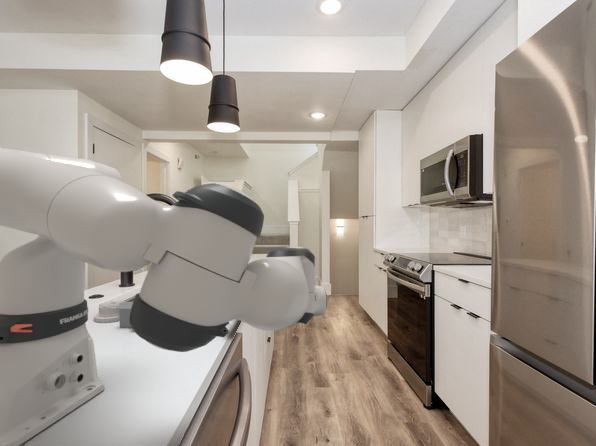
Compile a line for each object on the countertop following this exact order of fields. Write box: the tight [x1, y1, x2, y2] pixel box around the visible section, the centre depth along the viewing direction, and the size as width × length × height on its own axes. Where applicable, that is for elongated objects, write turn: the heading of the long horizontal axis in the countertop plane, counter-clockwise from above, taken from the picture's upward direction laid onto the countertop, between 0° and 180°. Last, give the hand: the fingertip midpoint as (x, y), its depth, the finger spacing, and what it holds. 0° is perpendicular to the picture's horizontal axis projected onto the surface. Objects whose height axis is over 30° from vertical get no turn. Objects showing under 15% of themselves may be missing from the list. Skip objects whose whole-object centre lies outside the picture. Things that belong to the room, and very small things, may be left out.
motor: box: [119, 295, 135, 329], centre depth 88 cm, size 14×11×6 cm
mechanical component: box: [93, 300, 124, 324], centre depth 94 cm, size 10×4×10 cm
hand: (213, 302), depth 86 cm, fingers open, 8 cm apart
